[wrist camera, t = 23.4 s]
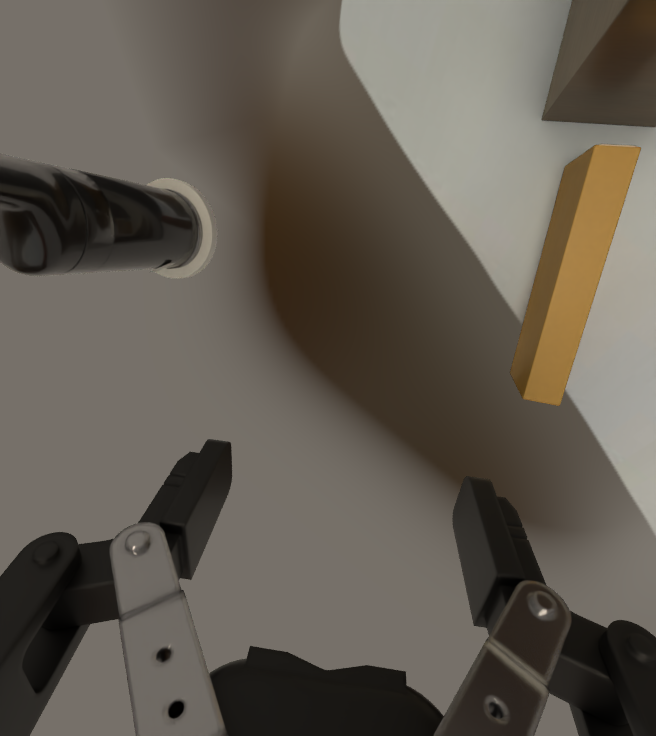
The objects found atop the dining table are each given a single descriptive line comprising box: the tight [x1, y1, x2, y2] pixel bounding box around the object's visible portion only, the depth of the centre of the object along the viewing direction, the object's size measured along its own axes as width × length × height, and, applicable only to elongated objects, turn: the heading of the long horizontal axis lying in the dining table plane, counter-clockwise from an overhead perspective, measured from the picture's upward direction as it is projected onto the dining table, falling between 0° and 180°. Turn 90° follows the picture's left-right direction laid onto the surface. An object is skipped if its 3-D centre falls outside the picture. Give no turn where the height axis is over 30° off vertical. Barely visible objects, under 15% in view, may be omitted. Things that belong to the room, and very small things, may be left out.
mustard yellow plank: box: [510, 144, 641, 406], centre depth 35 cm, size 20×3×8 cm, turn 174°
